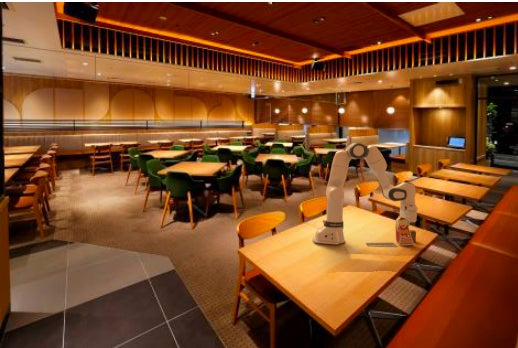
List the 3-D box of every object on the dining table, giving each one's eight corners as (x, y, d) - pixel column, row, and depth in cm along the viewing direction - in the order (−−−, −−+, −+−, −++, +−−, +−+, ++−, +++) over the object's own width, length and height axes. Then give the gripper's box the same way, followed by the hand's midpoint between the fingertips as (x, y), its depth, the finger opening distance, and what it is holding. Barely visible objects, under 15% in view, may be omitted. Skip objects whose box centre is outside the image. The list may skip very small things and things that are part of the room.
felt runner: (367, 246, 192) (367, 245, 192) (364, 242, 201) (364, 241, 201) (397, 246, 189) (397, 246, 189) (392, 242, 198) (392, 242, 198)
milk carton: (414, 244, 189) (409, 215, 188) (399, 246, 191) (395, 217, 190) (409, 240, 198) (405, 212, 197) (395, 242, 200) (391, 214, 199)
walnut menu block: (410, 242, 198) (410, 231, 198) (408, 241, 202) (408, 230, 201) (415, 242, 198) (416, 231, 197) (413, 241, 201) (414, 230, 201)
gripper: (397, 203, 204) (397, 222, 204) (408, 208, 183) (407, 229, 184) (406, 203, 203) (406, 222, 204) (418, 208, 183) (418, 229, 183)
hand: (407, 225), depth 194 cm, fingers closed, pressing on milk carton
